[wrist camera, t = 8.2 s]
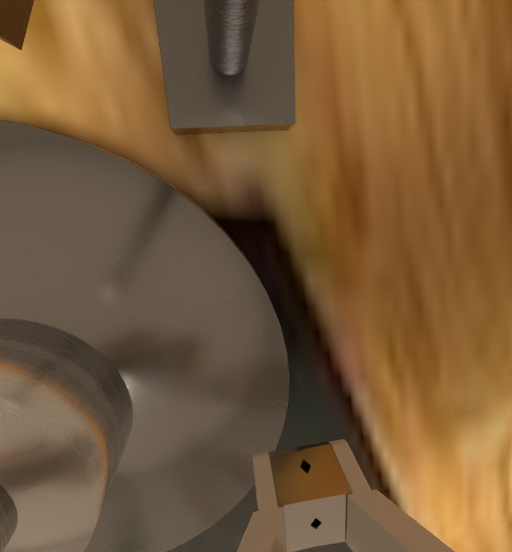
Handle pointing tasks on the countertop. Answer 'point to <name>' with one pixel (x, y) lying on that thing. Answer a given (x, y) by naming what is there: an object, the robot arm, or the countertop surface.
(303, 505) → the robot arm
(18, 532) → the cover
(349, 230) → the countertop surface
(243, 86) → the lever with square base
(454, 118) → the countertop surface
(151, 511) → the turntable
